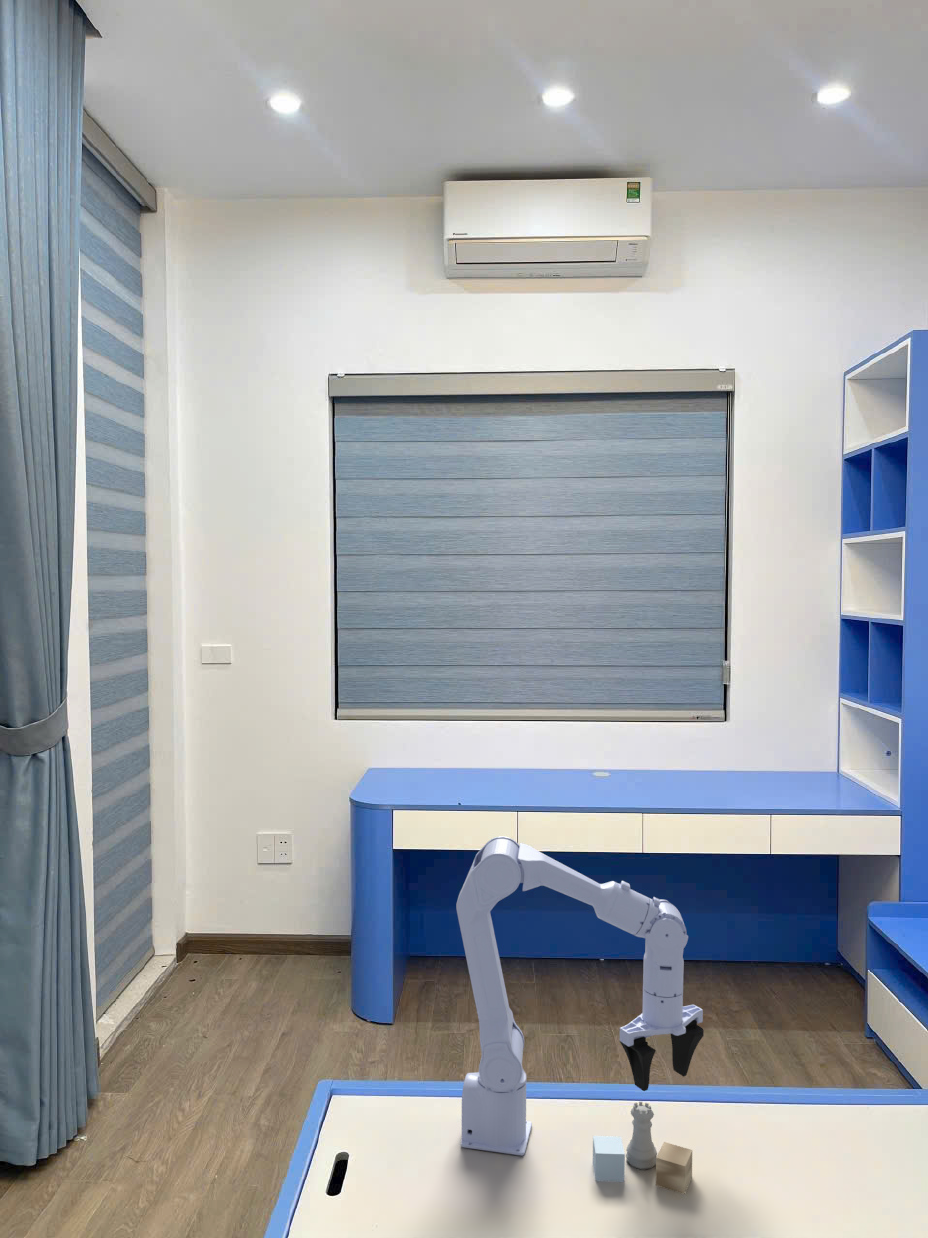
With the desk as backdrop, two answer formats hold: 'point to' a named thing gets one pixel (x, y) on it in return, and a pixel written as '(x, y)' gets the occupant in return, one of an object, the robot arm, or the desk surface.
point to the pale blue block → (608, 1158)
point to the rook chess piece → (641, 1138)
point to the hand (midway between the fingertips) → (660, 1080)
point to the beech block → (674, 1168)
